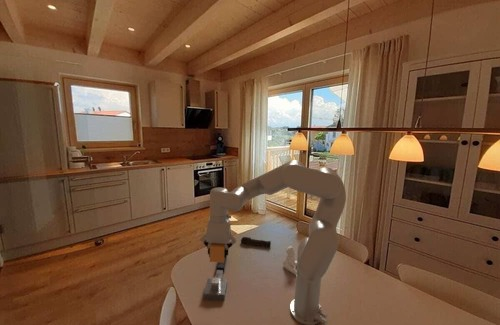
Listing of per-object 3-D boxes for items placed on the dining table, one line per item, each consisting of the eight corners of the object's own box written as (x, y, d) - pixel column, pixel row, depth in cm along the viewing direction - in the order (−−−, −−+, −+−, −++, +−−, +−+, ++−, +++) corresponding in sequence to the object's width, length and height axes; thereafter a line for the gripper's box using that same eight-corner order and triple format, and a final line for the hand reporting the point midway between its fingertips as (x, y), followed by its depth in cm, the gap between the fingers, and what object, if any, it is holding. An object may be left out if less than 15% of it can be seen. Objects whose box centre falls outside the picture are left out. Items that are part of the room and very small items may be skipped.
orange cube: (226, 254, 95) (226, 239, 94) (223, 262, 89) (224, 247, 88) (212, 253, 96) (212, 238, 94) (209, 261, 90) (209, 246, 88)
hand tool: (270, 246, 134) (271, 239, 133) (269, 249, 130) (270, 242, 129) (242, 241, 138) (242, 234, 138) (240, 244, 135) (240, 237, 134)
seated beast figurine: (297, 276, 107) (298, 254, 105) (280, 271, 110) (281, 250, 108) (300, 265, 116) (301, 245, 114) (284, 260, 119) (286, 241, 117)
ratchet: (224, 300, 91) (224, 288, 90) (203, 299, 91) (203, 287, 90) (231, 258, 119) (231, 249, 118) (215, 258, 120) (215, 248, 118)
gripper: (240, 214, 93) (238, 252, 96) (200, 212, 93) (200, 249, 96) (238, 222, 85) (236, 262, 88) (195, 219, 86) (195, 260, 89)
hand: (218, 255), depth 92 cm, fingers closed on orange cube, 6 cm apart
